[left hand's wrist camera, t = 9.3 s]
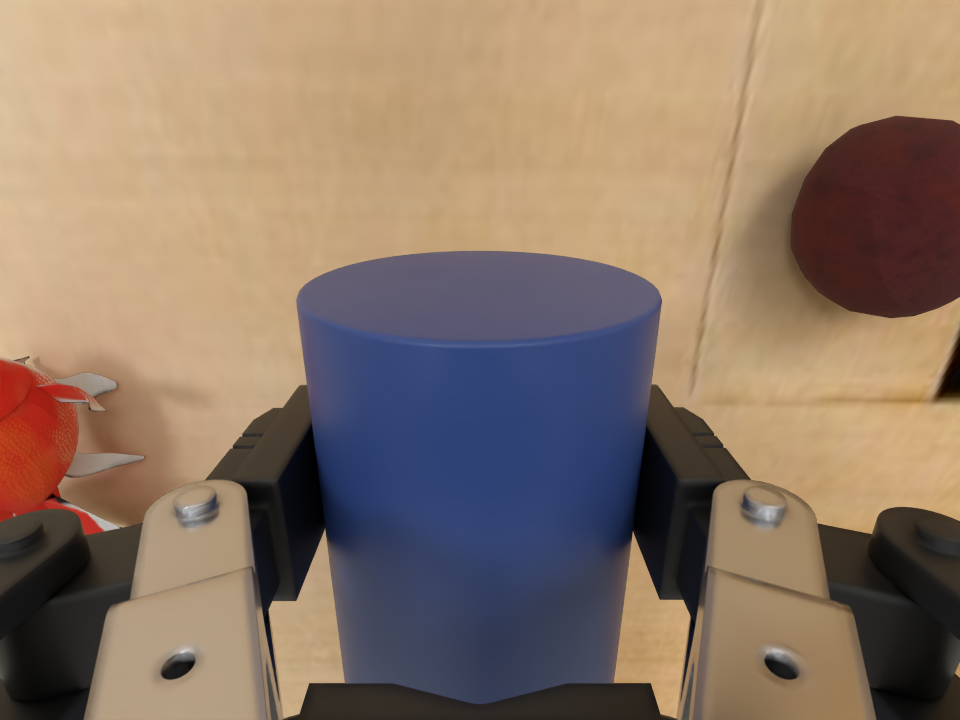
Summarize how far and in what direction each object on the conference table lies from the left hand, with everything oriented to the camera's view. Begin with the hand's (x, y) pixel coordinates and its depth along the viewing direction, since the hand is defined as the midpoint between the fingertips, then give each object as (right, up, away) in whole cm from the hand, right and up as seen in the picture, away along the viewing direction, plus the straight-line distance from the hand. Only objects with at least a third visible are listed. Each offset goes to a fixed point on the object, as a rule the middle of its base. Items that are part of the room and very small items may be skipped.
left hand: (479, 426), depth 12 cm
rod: (0, -8, +5) cm, 9 cm away
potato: (+16, +8, +14) cm, 23 cm away
